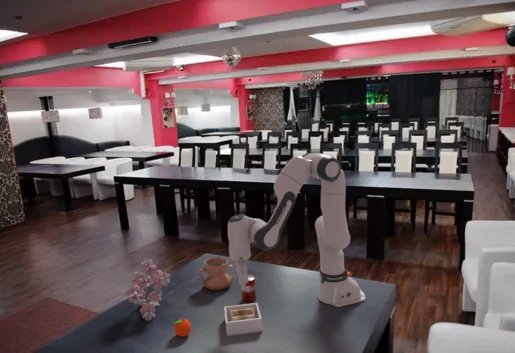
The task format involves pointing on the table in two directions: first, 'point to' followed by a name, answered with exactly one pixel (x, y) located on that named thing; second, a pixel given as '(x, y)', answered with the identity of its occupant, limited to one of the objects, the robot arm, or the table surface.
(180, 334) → the clementine
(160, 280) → the flower
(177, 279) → the table surface
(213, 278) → the ceramic jug
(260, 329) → the grey crate
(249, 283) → the soda can
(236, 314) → the birch crate
